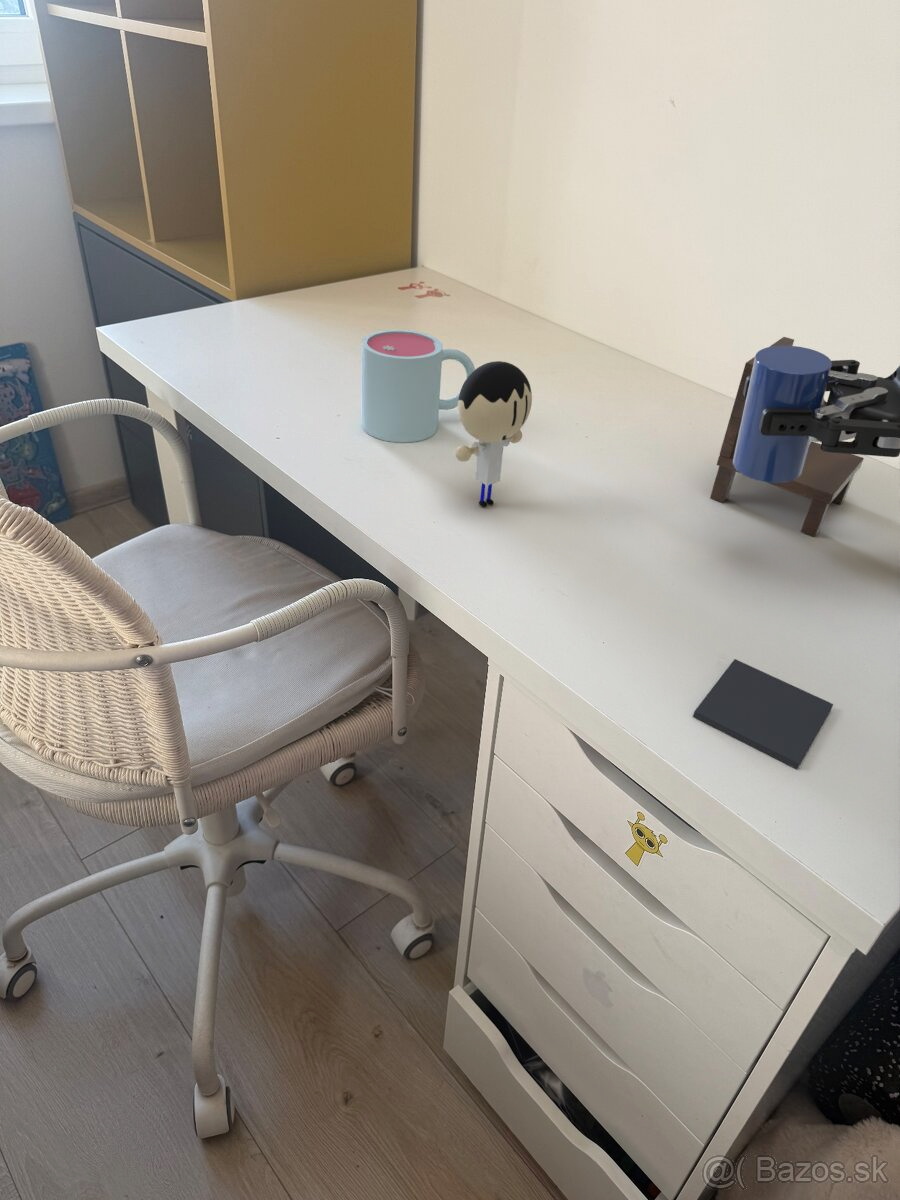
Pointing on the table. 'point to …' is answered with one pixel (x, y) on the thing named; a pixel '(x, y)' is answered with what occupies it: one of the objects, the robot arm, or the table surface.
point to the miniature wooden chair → (821, 473)
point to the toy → (492, 417)
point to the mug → (404, 384)
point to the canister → (780, 384)
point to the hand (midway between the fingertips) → (753, 403)
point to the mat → (764, 712)
